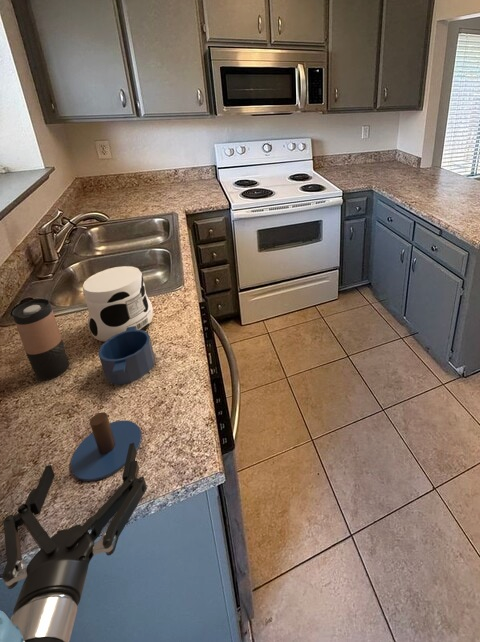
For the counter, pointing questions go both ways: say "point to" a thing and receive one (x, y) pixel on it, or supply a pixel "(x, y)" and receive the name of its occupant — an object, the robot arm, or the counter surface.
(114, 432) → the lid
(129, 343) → the pot
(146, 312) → the milk container
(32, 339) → the travel mug
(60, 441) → the counter surface
